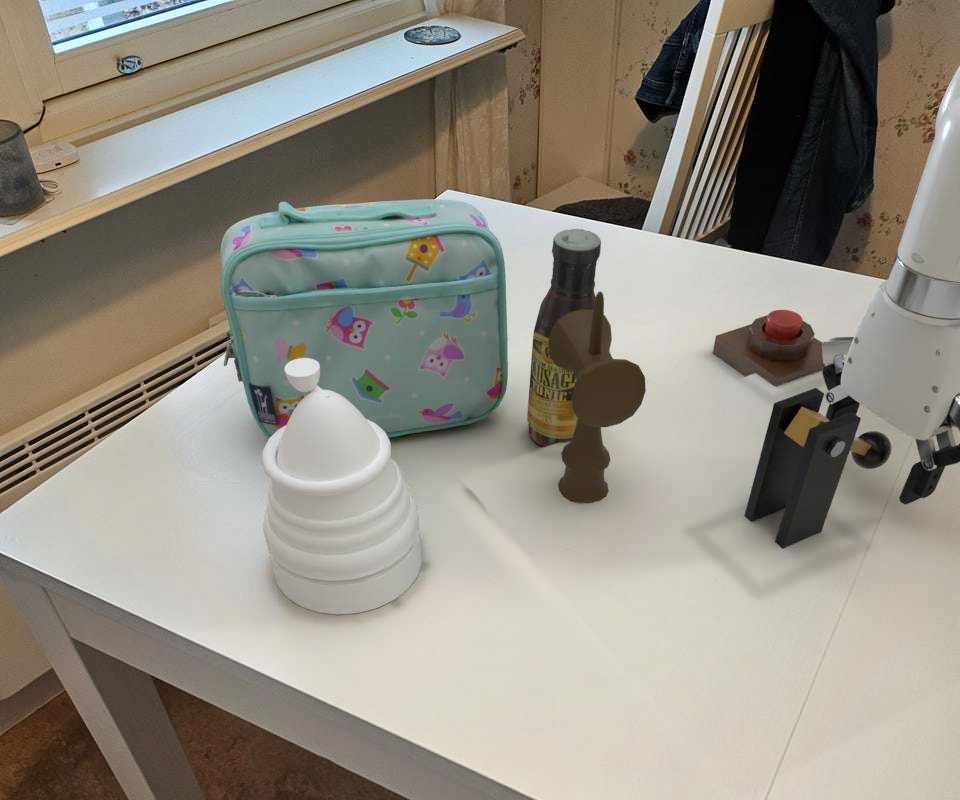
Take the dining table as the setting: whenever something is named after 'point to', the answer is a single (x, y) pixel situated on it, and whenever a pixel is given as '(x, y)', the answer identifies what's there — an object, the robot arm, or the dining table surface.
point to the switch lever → (865, 449)
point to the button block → (770, 353)
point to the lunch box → (370, 310)
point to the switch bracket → (800, 469)
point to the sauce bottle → (566, 294)
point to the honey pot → (337, 505)
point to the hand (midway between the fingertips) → (872, 467)
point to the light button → (783, 325)
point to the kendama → (592, 397)
